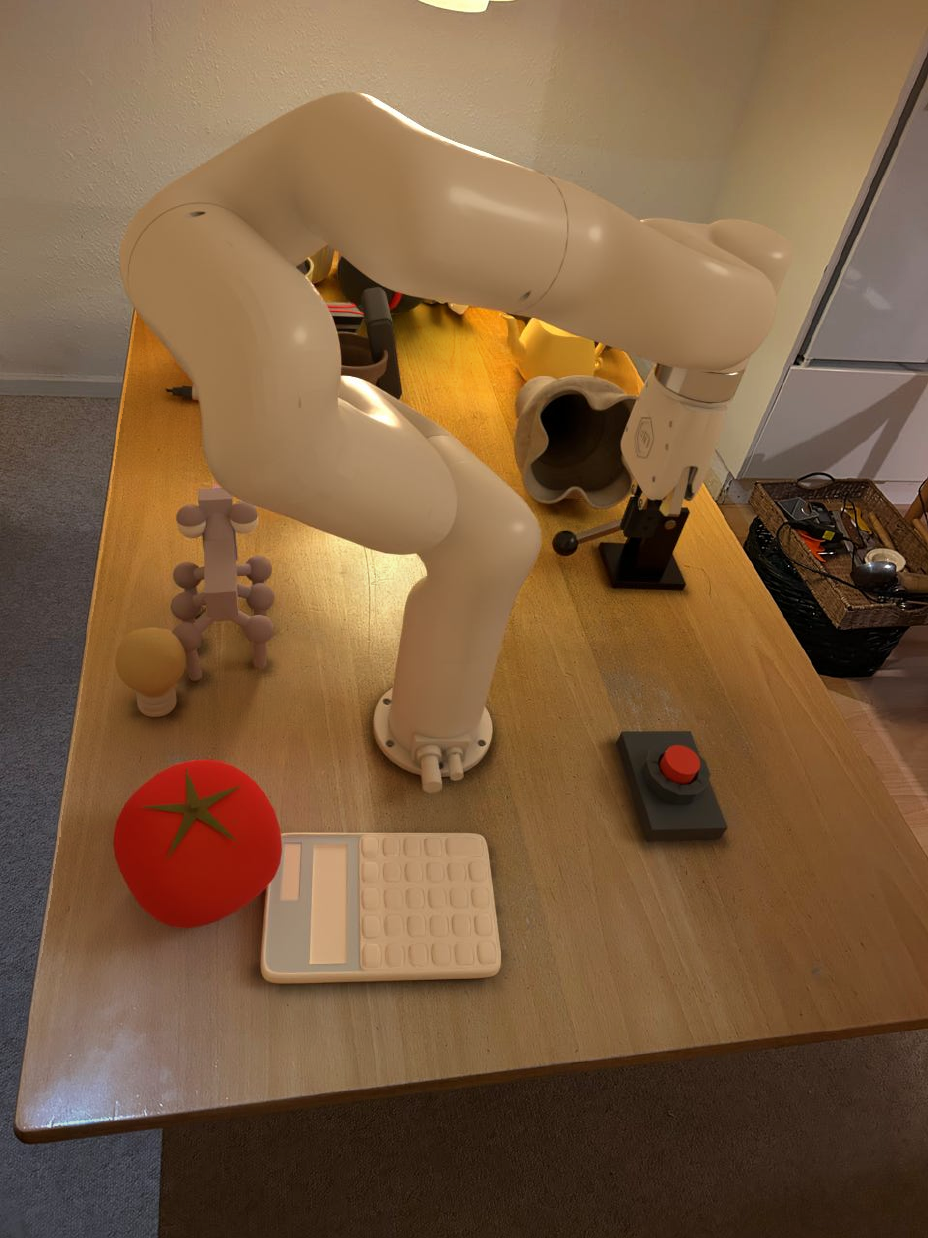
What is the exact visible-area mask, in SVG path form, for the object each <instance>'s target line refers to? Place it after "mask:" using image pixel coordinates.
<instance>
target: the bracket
mask: <svg viewBox="0 0 928 1238" xmlns="http://www.w3.org/2000/svg"><path fill="white" fill-rule="evenodd" d="M690 513H691V511H690V509H689V508H688V507H686V506H685V507H684V506H682V508H681V511H680V515H679V516H678V517H666V516H664V514H663V513H662V514H661V517H660V519H659V522H658V524H657V527H656V529H655V532H654V534H653V536H652V537H650V538H635V537H626V540H625V542H610V541H609V542H608V541H599V545H598V548H597V550H598V553H599V555H600V558H601V561H602V563H603V566H604V569H605V572H606V575H607V578H608V581H609V584H610V586H611V589H622V590H623V589H624V590H654V591H656V590H657V591H684V590H685V587H686V585H687V583H686V580H685V578H684V576H683V573H682V571H681V569H680V567H679V565H678V562H677V561H676V558H675V556H674V551H675V550H676V549H675V548H676V547H677V544H678V542H679V540H680V537H681V534H682V532H683V530H684V528H685V525H686V523H687V521H688V519H689V516H690Z"/></svg>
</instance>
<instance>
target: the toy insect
mask: <svg viewBox="0 0 928 1238" xmlns="http://www.w3.org/2000/svg"><path fill="white" fill-rule="evenodd" d="M233 497H234V496H232V495H231V494H229V493H228V492H227V491H226V490H224V489H223V488H222V487H220V486H219V484H218V483H217V482H215V483H214V485H213V486H212V488H209V487H208V488H198V490H197V503H198V505H197V504H190V503H189V504H185V505H183V506H181V507H180V508H179V509H178V511H177V512H176V516H175V520H176V521H175V522H176V525H177V530H178V531H179V532H180V534H181V535H182V536H183V537H186V538H189V539H197V538H199V537H201V539H202V546H203V548H202V549H203V566H200V567H199V565H197V564H196V563H195V562H192V561H183V562H180V563H178V564H177V565H176V566H175V568H174V569H173V572H172V577H173V581H174V583H175V584H176V585H177V586H178V587H179V588H181V589H183V591H182V592H179V593H177V594H175V595H174V597H172V599H171V602H170V611H171V613H172V615H173V616H174V617H175V618H176V619H177V620H180V621H181V623H178V624H177V625H175V627H174V628H173V629H172V631H171V632H172V633H173V634H174V635H175V636H176V637H177V638H178V639H179V640H180V642H181V644H182V645H183V647H184V651H185V654H186V666H185V667H186V670H187V673H188V678H189V680H191V681H193V682H194V681H199V680H200V679H202V678H203V670H202V666H201V663H200V657H199V654H198V649H199V648H200V647H201V646H202V641H203V634H204V632H205V631H207V630H208V629H209V628H210V627H211V626H212V625H213V624H214V623H216V622H232V623H233V624H235V625H237V626H239V627H241V628H242V629H243V631H244V635H245V637H246V639H247V640H248V641H250V642H251V643H252V644H253V646H252V647H253V666H254V667H255V668H256V669H260V670H261V669H265V668H266V667H267V663H268V662H267V661H268V660H267V654H268V653H267V643H268V642H269V641H270V640H271V639H272V638H273V635H274V633H275V626H274V623H273V621H272V620H271V618H269V617H268V616H267V610H269V609H270V608H271V607H272V606H273V604H274V602H275V593H274V590H273V589H272V588H271V586H270V585H268V584H266V583H265V582H266V581H268V580H269V579H270V577H271V576H272V573H273V566H272V563H271V561H270V560H269V559H268V558H266V557H265V556H262V555H254V556H251V557H250V558H248V559H247V560H246V562H244V563H237V561H239V557H238V553H239V552H238V541H237V533H238V534H240V535H241V534H242V535H248V534H250V533H253V532H254V531H255V530H256V529H257V528H258V525H259V511H258V509H257V506H254V505H251V504H249V503H246V502H243V501H241V500H240V501H236V502H235V503H234V498H233ZM238 577H246V578H247V579H248V580H249V581H251V586H249V585H246V584H241V583H238ZM202 581H203V591H202V592H198V586H199V585H200V584H201V582H202ZM239 598H242V599H245V601H246V604H247V606H248V607H249V608H250V609H252V610H253V616H250V615H248V614H246V613H244V612H243V611H241V610H240V609H239V608H240V607H239ZM204 606H205V607H206V610H205V611H204V612H203V609H202V607H204ZM202 612H203V613H202ZM198 615H200V616H199V617H198ZM196 617H198V618H197V619H196Z"/></svg>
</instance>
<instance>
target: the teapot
mask: <svg viewBox="0 0 928 1238" xmlns="http://www.w3.org/2000/svg"><path fill="white" fill-rule="evenodd" d="M498 316H500V317H501V318H502V319H503V320H504V321H505V322H506V325H507V348H508V350H509V353H510V355H511V356H512V357H513V359H515V363H516V366H517V369H518V372H519V374H520V376H521V377H522V378H523V380H524V381H525V383H527V382H528V381H529V380H531V379H532V378H535V377H538V376H549V377H553V378H555V379H556V380H557V379H560V378H563V377H567V376H573V375H587V376H593V377H595V371H598V370H600V369H601V368H602V366H603V359H602V358H601V357H600V355H601V354H602V353H603V352H602V351H603V349H604V348H605V346H606V345H604V344H602V343H599V345H598V346H597V347H596V349H595V345H594V341H593V340H590V339H587V338H584V337H580V336H577V335H574V334H572V333H569V332H566V331H564V330H561V329H559V328H557V327H555V326H552V325H550V324H548V323H545V322H543V321H540V320H538V319H535V318H532V319H531V320H530V321H529V323H528V324H527V326H526V325H525V326H526V327H524V329H523V330H522V333H521V335H520V337H519V327H518V322H517V321H518V320H516V319H515V318H514V317H512V316H510V315H507V314H506V313H503V312H501V313H498Z"/></svg>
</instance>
